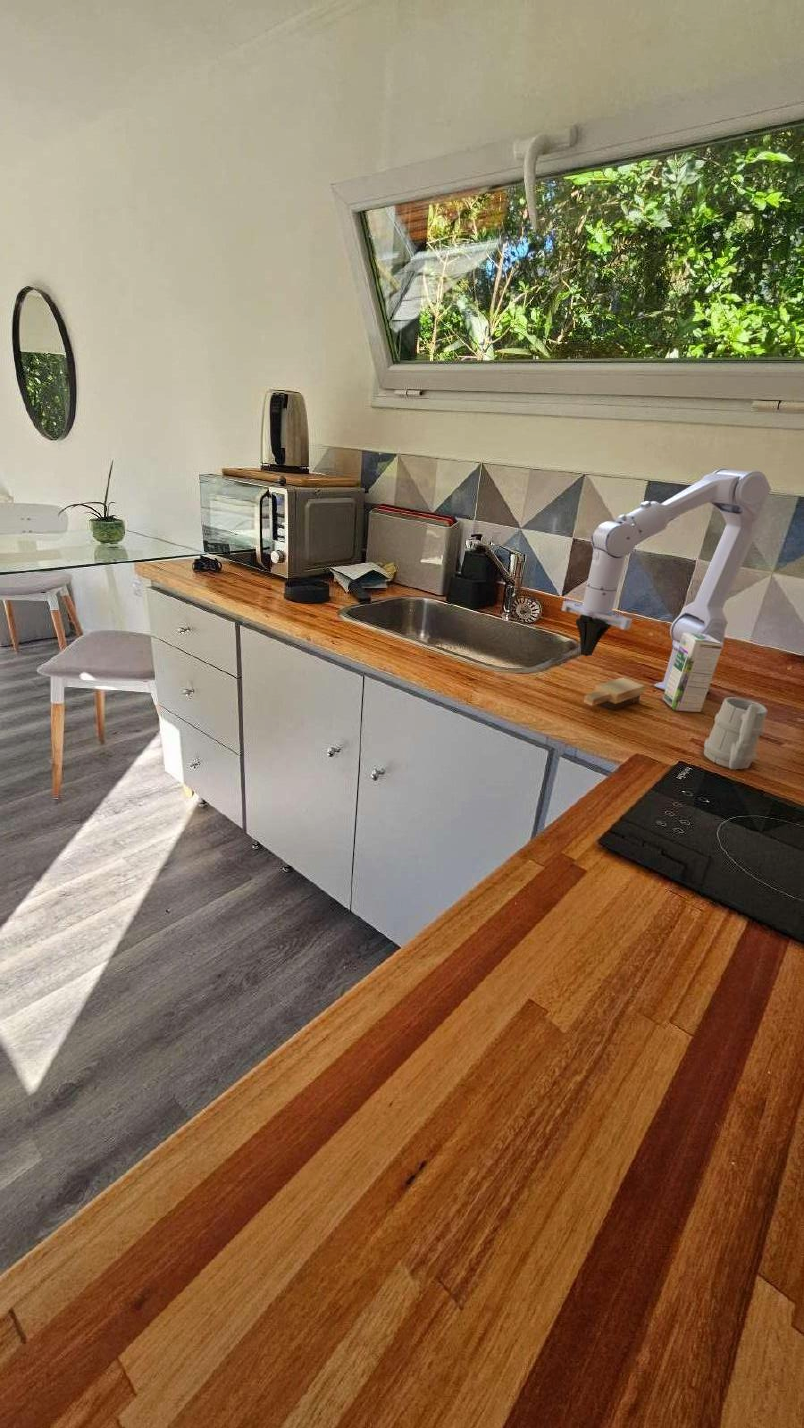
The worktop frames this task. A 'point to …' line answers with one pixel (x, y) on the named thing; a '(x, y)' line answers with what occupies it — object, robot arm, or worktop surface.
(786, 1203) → the worktop surface
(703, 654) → the syrup box
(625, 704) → the scrub brush
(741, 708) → the mug
